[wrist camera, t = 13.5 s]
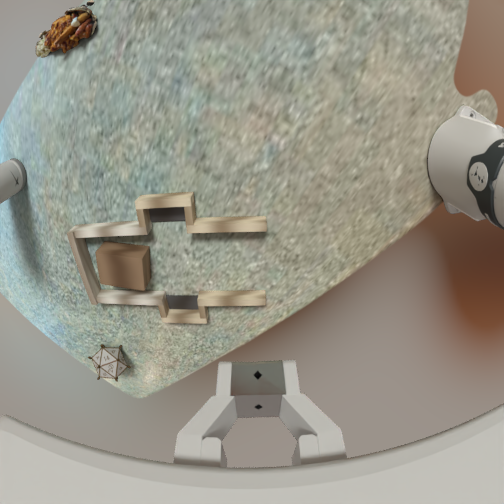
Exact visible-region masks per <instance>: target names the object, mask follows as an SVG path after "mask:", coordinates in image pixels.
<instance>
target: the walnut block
mask: <svg viewBox="0 0 504 504" xmlns="http://www.w3.org/2000/svg"><path fill="white" fill-rule="evenodd" d="M95 253H96V260H97V266H98V272H99V277H100V283H101V284H105V285H111V286H117V287H123V288H129V289H135V290H141V291H145V289H146V287H147V285H148V283H149V281H150V279H151V269H150V250H149V246H143V245H134V244H126V243H118V242H110V241H104V243H103V244H102V245H101V246H100V247H99V249H98V250H97V251H96V252H95Z"/></svg>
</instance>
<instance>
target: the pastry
mask: <svg viewBox="0 0 504 504" xmlns="http://www.w3.org/2000/svg"><path fill="white" fill-rule="evenodd" d="M93 4H94V1H93V0H90V1H88V2H87V5H88V6H89V7H90V6H91V5H93ZM88 6H87V7H88ZM96 18H97V16H96V15H93V13H92V11H91V10H90V9H88V8H86V6H85V5H82V6H81V7H76V8H70V9H69V10H67V11H66V12H65V15H63V16H62V17H60V18H58V19H57V20H56V21H55V22H54V23H53V24H52V26H51V29H50V30H48V31H47V32H46V31H44V32H43V33H41V34H40V36H39V38H41V40H40V41H39V42H37V46H36V55H37V56H38V57H39V56H42V57H41V58H43V57H46V56H47V55H48V54H49V52H50V51H51V52H54V51H57V50H58V49H60V48H62V51H63V53H66V52H67V51H68V50H70V49H72V48H74V47H75V46H77V45H78V44H79V42H78V41H79V40H80V39H81V38H88V37H90V36H91V35H92V34H93V32H94V30H95V27H96V26H97V22H96Z"/></svg>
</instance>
